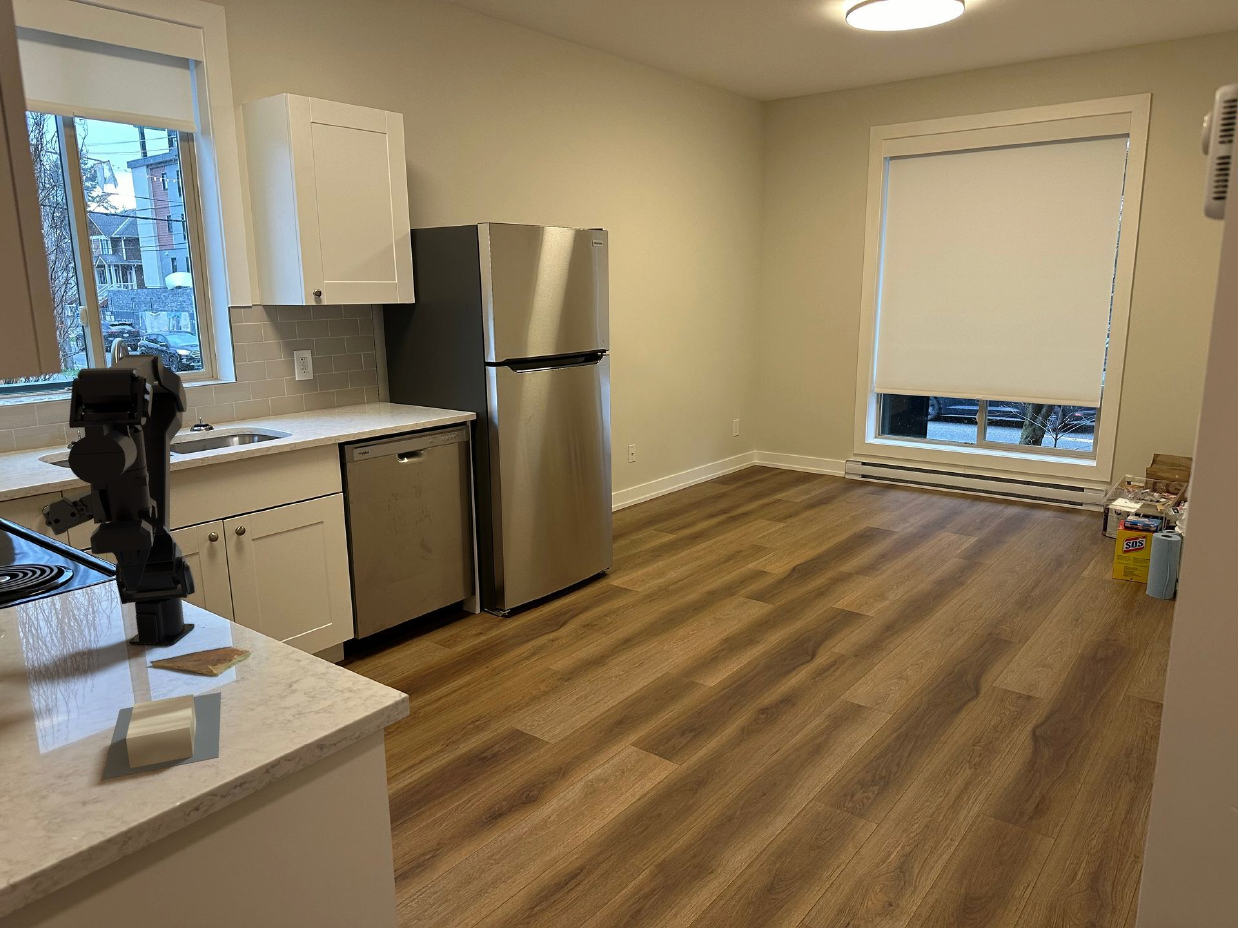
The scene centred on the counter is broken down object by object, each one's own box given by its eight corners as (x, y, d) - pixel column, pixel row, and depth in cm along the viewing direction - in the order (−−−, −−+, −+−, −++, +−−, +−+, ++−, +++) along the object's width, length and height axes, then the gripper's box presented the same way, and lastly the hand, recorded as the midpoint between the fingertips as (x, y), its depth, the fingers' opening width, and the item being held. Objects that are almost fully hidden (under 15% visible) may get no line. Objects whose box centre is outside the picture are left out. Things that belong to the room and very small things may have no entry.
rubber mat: (120, 711, 103) (120, 708, 103) (221, 694, 107) (221, 691, 107) (102, 783, 89) (101, 779, 89) (218, 760, 93) (218, 756, 93)
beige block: (134, 703, 97) (126, 738, 90) (193, 693, 99) (189, 726, 92) (137, 731, 98) (130, 768, 91) (196, 721, 100) (193, 756, 93)
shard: (150, 671, 115) (149, 659, 114) (193, 648, 122) (192, 636, 121) (217, 683, 111) (215, 670, 111) (257, 658, 119) (256, 646, 118)
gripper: (54, 461, 112) (68, 575, 115) (30, 489, 95) (48, 622, 98) (151, 454, 117) (162, 564, 120) (144, 480, 100) (158, 607, 103)
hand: (133, 587), depth 110 cm, fingers closed
